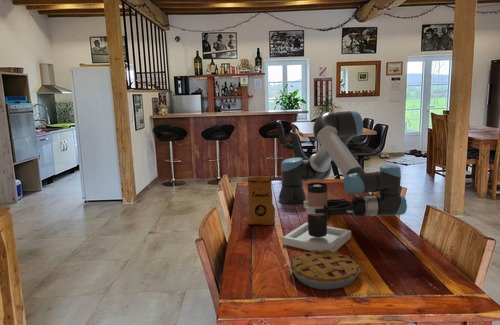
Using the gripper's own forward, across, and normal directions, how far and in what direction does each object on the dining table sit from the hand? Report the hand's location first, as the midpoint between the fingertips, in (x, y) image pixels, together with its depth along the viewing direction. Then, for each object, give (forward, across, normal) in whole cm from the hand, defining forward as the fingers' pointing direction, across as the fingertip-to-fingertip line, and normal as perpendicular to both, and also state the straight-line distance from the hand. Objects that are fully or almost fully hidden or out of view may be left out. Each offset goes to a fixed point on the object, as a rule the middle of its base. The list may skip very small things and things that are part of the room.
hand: (304, 207), depth 146 cm
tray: (-5, 0, -14) cm, 15 cm away
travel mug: (-5, 0, -11) cm, 12 cm away
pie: (-3, -28, -14) cm, 32 cm away
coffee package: (+17, +23, -14) cm, 32 cm away
